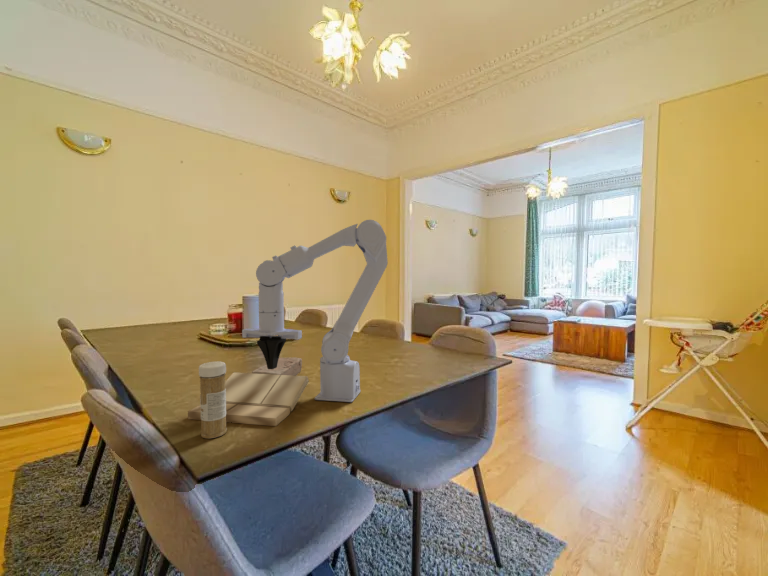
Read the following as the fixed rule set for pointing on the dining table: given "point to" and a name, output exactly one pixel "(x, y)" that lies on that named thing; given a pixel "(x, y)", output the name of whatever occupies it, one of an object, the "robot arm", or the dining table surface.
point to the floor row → (249, 413)
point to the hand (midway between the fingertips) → (272, 368)
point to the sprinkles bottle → (212, 399)
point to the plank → (265, 389)
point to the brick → (282, 367)
